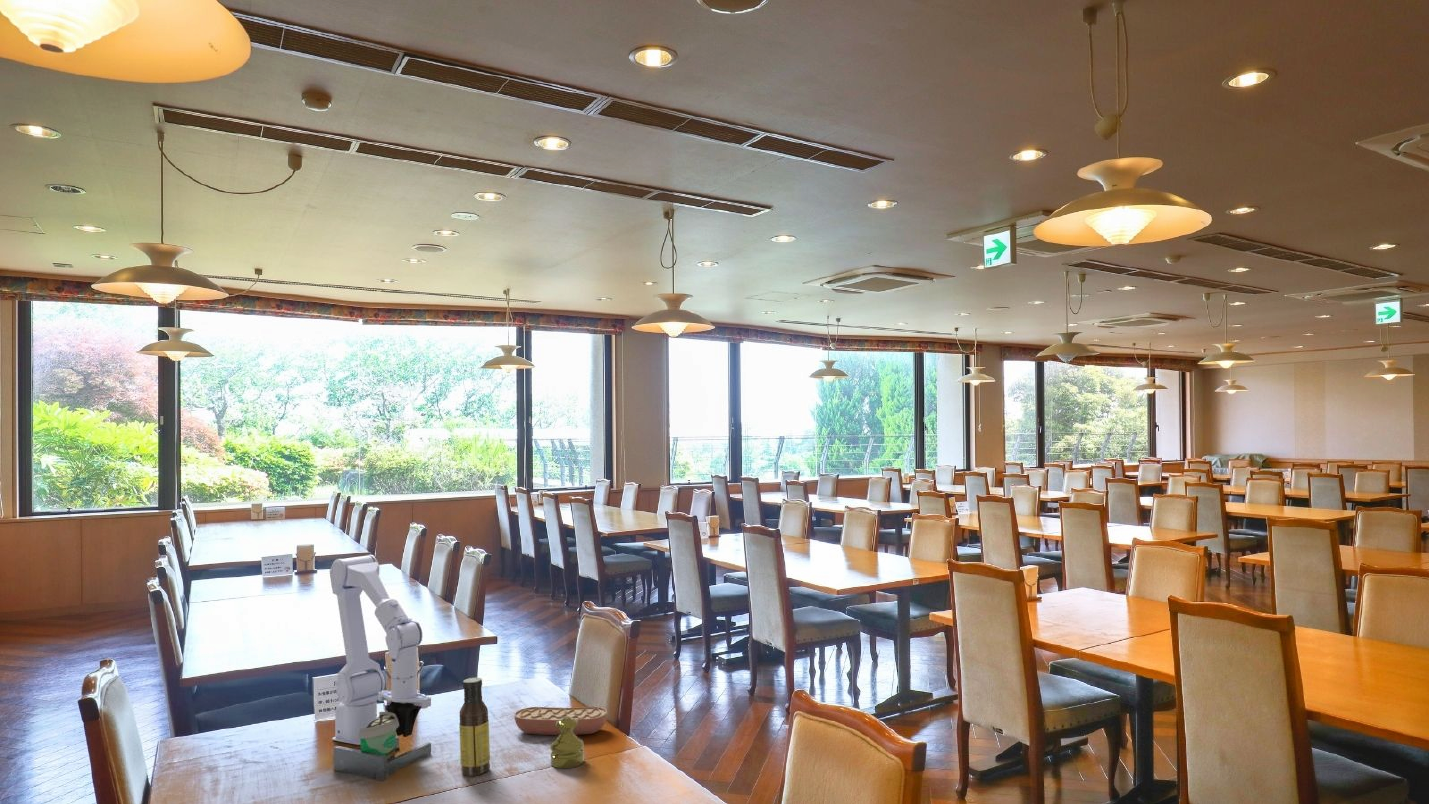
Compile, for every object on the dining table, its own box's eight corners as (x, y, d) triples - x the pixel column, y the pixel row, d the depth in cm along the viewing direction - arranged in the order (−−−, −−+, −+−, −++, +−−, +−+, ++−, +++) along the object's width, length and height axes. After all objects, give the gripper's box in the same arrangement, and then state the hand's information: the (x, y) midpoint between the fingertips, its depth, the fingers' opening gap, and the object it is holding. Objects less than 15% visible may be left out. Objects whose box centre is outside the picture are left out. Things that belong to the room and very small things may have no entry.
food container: (388, 774, 185) (386, 728, 185) (360, 776, 185) (358, 729, 185) (408, 753, 197) (406, 709, 198) (381, 754, 197) (380, 711, 197)
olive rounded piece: (589, 758, 193) (589, 713, 193) (573, 771, 186) (573, 724, 186) (560, 755, 195) (560, 711, 196) (544, 767, 188) (543, 721, 189)
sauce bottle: (490, 764, 190) (490, 674, 191) (489, 775, 184) (488, 682, 185) (460, 767, 189) (460, 676, 190) (458, 778, 183) (458, 684, 184)
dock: (333, 770, 188) (333, 747, 188) (389, 745, 203) (389, 724, 203) (383, 781, 182) (383, 757, 182) (437, 755, 196) (437, 733, 197)
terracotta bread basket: (610, 726, 214) (610, 706, 214) (602, 741, 204) (602, 719, 204) (520, 726, 215) (520, 706, 216) (509, 740, 206) (508, 719, 206)
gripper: (440, 674, 198) (440, 733, 198) (394, 668, 205) (394, 725, 204) (417, 682, 192) (418, 743, 191) (371, 676, 198) (371, 735, 198)
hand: (404, 735), depth 197 cm, fingers closed
